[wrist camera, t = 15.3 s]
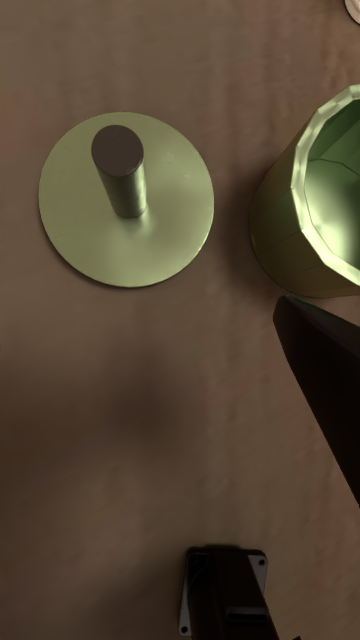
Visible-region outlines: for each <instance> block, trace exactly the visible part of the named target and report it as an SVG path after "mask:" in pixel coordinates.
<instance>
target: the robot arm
mask: <svg viewBox="0 0 360 640" xmlns="http://www.w3.org/2000/svg"><path fill="white" fill-rule="evenodd" d="M273 322H274V325H275V328H276V331H277V334H278V337H279V339H280V342H281V345H282V348H283V351H284V353H285V356H286V359H287V361H288V363H289V365H290V368H291V370H292V372H293V374H294V376H295V378H296V380H297V382H298V384H299V386H300V388H301V390H302V392H303V394H304V396H305V398H306V400H307V402H308V404H309V406H310V408H311V410H312V412H313V414H314V416H315V418H316V420H317V422H318V424H319V426H320V428H321V430H322V432H323V434H324V436H325V438H326V440H327V442H328V444H329V446H330V448H331V450H332V452H333V455H334V457H335V459H336V461H337V463H338V465H339V467H340V469H341V471H342V473H343V475H344V477H345V479H346V481H347V483H348V485H349V487H350V489H351V491H352V493H353V495H354V497H355V499H356V501H357V503H358V504H359V508H360V327H359V326H357V325H354V324H352V323H350V322H348V321H346V320H344V319H342V318H340V317H338V316H336V315H334V314H332V313H329V312H327V311H325V310H323V309H321V308H319V307H317V306H315V305H313V304H311V303H309V302H307V301H304V300H302V299H300V298H298V297H296V296H294V295H283V296H280V297H279V298H278V300H277V303H276V307H275V310H274V314H273ZM194 556H195V558H192V557H194ZM261 559H262V560H261ZM260 560H261V561H260ZM267 566H268V560H267V558H266V555H265V554H264V553H263V552H258V551H236V550H214V549H190V550H189V551H188V552H187V557H186V564H185V572H184V579H183V587H182V594H181V602H180V610H179V617H178V632H179V634H180V635H181V636H191V637H192V640H279V637H278V634H277V632H276V629H275V626H274V624H273V621H272V618H271V616H270V613H269V609H268V607H267V604H266V601H265V599H264V596H263V595H264V588H265V581H266V573H267ZM293 640H301V638H300V636H298V637H296V638H295V639H293Z"/></svg>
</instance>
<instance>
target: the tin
mask: <svg viewBox="0 0 360 640" xmlns="http://www.w3.org/2000/svg"><path fill="white" fill-rule="evenodd" d="M249 233H250V239H251V244H252V247H253V250H254V253H255V255H256V257H257V259H258V261H259V263H260V264H261V266H262V267H263V269H264V270H265V271H266V273H267V274H268V275H269V276H270V277H271V278H272V279H273V280H274V281H275V282H276V283H278V284H279V285H281V286H282V287H283V288H285V289H287V290H289V291H291V292H293V293H296V294H299V295H303V296H307V297H320V298H333V297H343V296H353V295H360V84H357V85H352V86H348V87H347V88H345V89H344V90H342V91H341V92H340V93H338V94H337V95H336V96H334V97H333V98H332V99H330V100H329V101H328V102H326V103H325V104H324V105H322V106H321V107H319V108H318V109H317V110H316V111H315V112H314V113H313V115H312V116H311V117H310V119H309V120H308V121H307V122H306V124H305V125H304V126H303V128H302V129H301V130H300V131H299V133H298V134H297V135H296V137H295V138H294V139H293V140H292V142H291V143H290V144H289V146H288V147H287V148H286V149H285V151H284V152H283V153H282V155H281V156H280V157H279V158H278V160H277V161H276V162H275V163H274V165H273V166H272V167H271V169H270V170H269V171H268V173H267V175H266V176H265V178H264V180H263V181H262V183H261V184H260V186H259V187H258V189H257V191H256V193H255V195H254V198H253V201H252V204H251V209H250V215H249Z"/></svg>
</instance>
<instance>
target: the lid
mask: <svg viewBox="0 0 360 640" xmlns="http://www.w3.org/2000/svg"><path fill="white" fill-rule="evenodd" d="M38 197H39V209H40V214H41V219H42V222H43V225H44V228H45V230H46V232H47V234H48V236H49V238H50V240H51V242H52V243H53V245H54V246H55V248H56V249H57V251H58V252H59V253H60V254H61V255H62V257H63V258H64V259H65V260H66V261H67V262H68V263H69V264H71V265H72V266H73V267H74V268H75V269H77V270H78V271H80V272H81V273H83V274H84V275H86V276H88V277H90V278H92V279H94V280H96V281H99V282H101V283H104V284H107V285H112V286H116V287H125V288H137V287H145V286H151V285H154V284H157V283H161V282H163V281H165V280H167V279H169V278H171V277H173V276H175V275H176V274H178V273H179V272H181V271H182V270H183V269H184V268H185V267H187V266H188V265H189V264H190V263H191V262H192V260H193V259H194V258H195V257H196V256H197V254H198V253H199V251H200V250H201V248H202V247H203V245H204V243H205V241H206V239H207V237H208V235H209V232H210V229H211V226H212V221H213V216H214V191H213V186H212V181H211V178H210V175H209V172H208V169H207V167H206V165H205V163H204V161H203V159H202V157H201V156H200V154H199V153H198V151H197V150H196V149H195V147H194V146H193V145H192V143H191V142H190V141H189V140H188V139H187V138H186V137H185V136H184V135H183V134H181V133H180V132H179V131H177V130H176V129H175V128H173V127H172V126H170V125H168V124H167V123H165V122H163V121H161V120H159V119H156V118H154V117H151V116H148V115H144V114H140V113H133V112H112V113H105V114H101V115H97V116H94V117H92V118H89V119H87V120H85V121H83V122H81V123H79V124H78V125H76V126H74V127H73V128H72V129H70V130H69V131H68V132H67V133H65V134H64V135H63V137H62V138H61V139H60V140H59V141H58V142H57V143H56V145H55V146H54V147H53V149H52V150H51V152H50V154H49V155H48V157H47V159H46V161H45V164H44V167H43V170H42V173H41V177H40V182H39V194H38Z"/></svg>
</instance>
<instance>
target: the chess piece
mask: <svg viewBox="0 0 360 640" xmlns="http://www.w3.org/2000/svg"><path fill="white" fill-rule="evenodd" d="M345 4H346V7H347V10H348V12H349V13H350V15H351V16H352V18H353V19H354V20H355V21H356V22H357V23H359V24H360V0H345Z"/></svg>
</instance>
